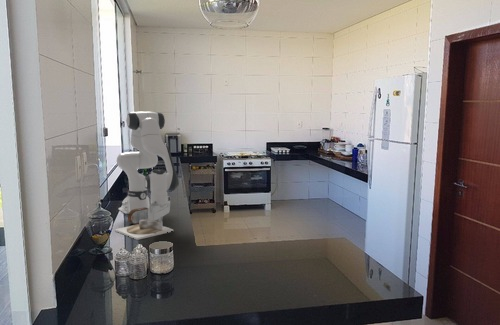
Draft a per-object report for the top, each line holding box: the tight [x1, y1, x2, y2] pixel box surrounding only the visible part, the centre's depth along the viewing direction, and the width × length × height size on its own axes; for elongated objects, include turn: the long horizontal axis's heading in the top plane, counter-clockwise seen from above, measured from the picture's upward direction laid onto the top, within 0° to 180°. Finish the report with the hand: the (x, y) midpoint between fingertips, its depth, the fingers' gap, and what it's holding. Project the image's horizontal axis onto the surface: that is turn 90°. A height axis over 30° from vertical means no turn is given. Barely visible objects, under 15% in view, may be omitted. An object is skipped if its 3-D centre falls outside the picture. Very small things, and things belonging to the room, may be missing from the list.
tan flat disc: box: [127, 219, 164, 234], centre depth 209 cm, size 19×18×5 cm
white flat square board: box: [114, 225, 174, 241], centre depth 209 cm, size 22×22×1 cm
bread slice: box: [127, 207, 148, 225], centre depth 226 cm, size 15×3×8 cm, turn 141°
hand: (159, 225), depth 210 cm, fingers closed
